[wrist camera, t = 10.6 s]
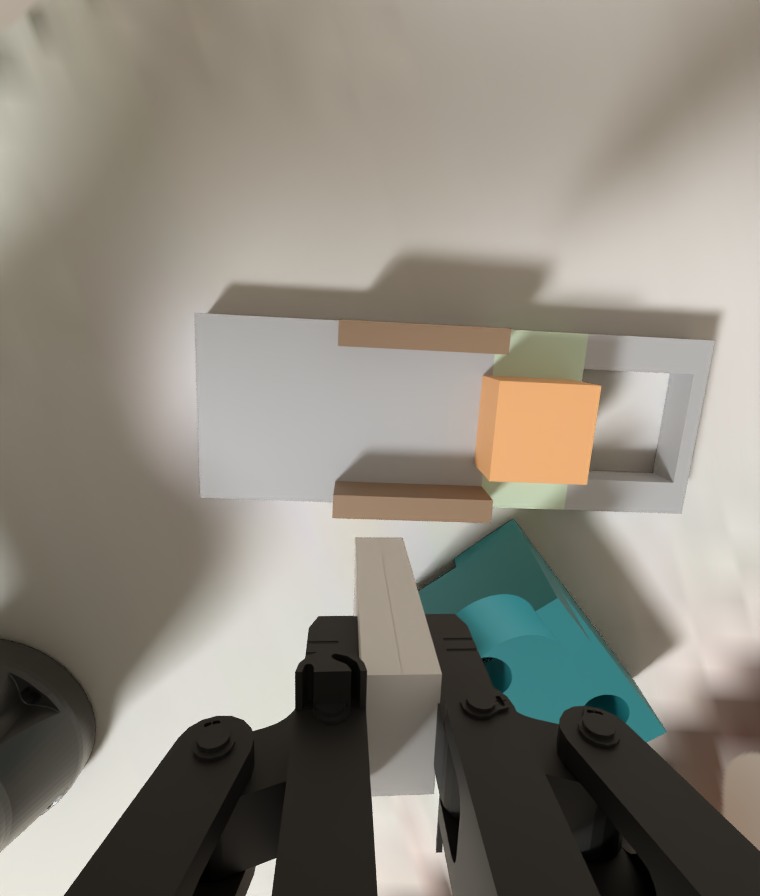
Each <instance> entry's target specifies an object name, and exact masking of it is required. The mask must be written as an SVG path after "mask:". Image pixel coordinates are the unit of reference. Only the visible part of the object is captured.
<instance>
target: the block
mask: <svg viewBox="0 0 760 896" xmlns="http://www.w3.org/2000/svg"><path fill="white" fill-rule="evenodd" d="M600 393H601V386H600V385H596V384H591V383H586V382H581V381H577V380H570V379H549V378H529V377H508V376H488V375H483V376H482V386H481V397H480V407H479V418H478V428H477V438H476V449H475V459H474V465H475V466H476V467H477V468H478V469H479V470H480V471H481V473H482V474H483V475H484V476H485V477H486V478H487V479H488V480H489V481H495V482H523V483H550V484H578V485H587V480H588V474H589V467H590V460H591V453H592V447H593V440H594V433H595V426H596V420H597V413H598V406H599V400H600Z"/></svg>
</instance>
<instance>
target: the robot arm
mask: <svg viewBox="0 0 760 896" xmlns="http://www.w3.org/2000/svg"><path fill="white" fill-rule="evenodd" d="M94 740H95V720H94V715H93V711H92V708H91V705H90V703H89V700H88V698H87V696H86V694H85V693H84V691H83V689H82V688H81V686H80V685H79V684H78V682H77V681H76V680H75V679H74V677H73V676H72V675H71V674H70V673H69V672H68V671H67V670H66V669H64V668H63V667H62V666H61V665H60V664H58V663H57V662H56V661H54V660H53V659H51V658H50V657H48V656H46V655H45V654H43V653H41V652H39V651H37V650H35V649H32V648H30V647H28V646H25V645H22V644H19V643H15V642H11V641H7V640H1V639H0V852H1V851H2V850H3V849H4V848H5V847H7V846H8V845H9V844H10V843H11V842H12V841H13V840H14V839H15V838H16V837H18V836H19V835H20V834H21V833H22V832H23V831H24V830H25V829H26V828H27V827H28V826H29V825H31V824H32V823H33V822H34V821H35V820H36V819H37V818H38V817H39V816H41V815H42V814H44V813H45V812H46V811H48V810H49V809H50V808H51V807H53V806H54V805H55V804H56V803H57V802H58V801H59V800H60V799H61V798H62V797H63V796H64V795H65V794H66V793H67V791H68V790H69V789H70V788H71V786H72V785H73V783H74V782H75V780H76V778H77V777H78V775H79V774H80V772H81V771H82V769H83V767H84V766H85V764H86V763H87V761H88V759H89V757H90V754H91V752H92V749H93V745H94ZM435 775H436V780H437V784H438V789H439V794H440V796H439V810H438V824H437V838H436V853H437V852H442V844H443V846H444V852H445V857H446V862H447V867H448V873H449V878H450V883H451V888H452V893H453V896H760V851H759V850H758V849H757V848H756V847H755V846H753V844H752V843H751V842H750V841H748V840H747V839H746V838H745V837H744V836H743V835H742V834H741V833H740V832H739V831H738V830H737V829H736V828H735V827H734V826H733V825H732V824H731V823H729V821H727V819H725V818H724V817H723V816H722V815H721V814H720V813H719V812H718V811H717V810H716V809H715V808H714V807H713V806H712V805H711V804H710V803H709V802H708V801H707V800H706V799H705V798H704V797H703V796H701V795H700V794H699V793H698V792H697V791H696V790H695V789H694V788H693V787H692V786H691V785H690V784H689V783H688V782H687V781H686V780H685V779H684V778H683V777H682V776H681V775H680V774H678V773H677V772H676V771H675V770H674V769H673V768H672V767H671V766H670V765H669V764H668V763H667V762H666V761H665V760H664V759H663V758H662V757H661V756H660V755H659V754H658V753H657V752H655V751H654V750H653V749H652V748H651V747H650V746H649V745H648V744H647V743H646V742H645V741H644V740H643V739H642V738H641V737H640V736H639V735H638V734H637V733H636V732H635V731H634V730H632V729H631V728H630V727H629V726H628V725H627V724H626V723H625V722H623V721H622V720H621V719H619V718H618V717H617V716H615V715H613V714H611V713H609V712H607V711H604V710H602V709H599V708H595V707H590V706H573V707H571V708H569V709H567V710H565V711H564V712H563V714H562V715H561V717H560V719H559V724H556V723H551V722H547V721H543V720H538V719H534V718H531V717H528V716H524V715H522V714H520V713H518V712H517V711H516V709H515V707H514V705H513V704H512V702H511V701H510V700H509V698H508V697H507V696H506V695H504V694H503V693H502V692H500V691H499V690H497V689H495V688H494V687H493V685H492V682H491V680H490V678H489V675H488V673H487V671H486V668H485V666H484V664H483V661H482V659H481V656H480V654H479V652H478V651H477V647H476V645H475V642H474V640H473V638H472V635H471V633H470V631H469V628H468V626H467V624H466V623H464V622H463V621H462V620H461V619H460V618H459V617H458V616H456V615H455V614H424V610H423V607H422V603H421V600H420V596H419V593H418V589H417V586H416V582H415V579H414V576H413V572H412V569H411V565H410V562H409V558H408V555H407V551H406V548H405V544H404V541H403V538H359V537H355V569H354V612H353V616H318V618H317V619H316V620H315V621H314V622H313V624H312V625H311V626H310V627H309V632H308V640H307V648H306V656H305V659H304V660H302V661H301V662H300V663H299V665H298V667H297V669H296V672H295V710H294V711H293V712H292V713H291V714H290V715H289V716H288V717H287V718H285V719H284V720H282V721H280V722H279V723H277V724H274V725H271V726H269V727H266V728H263V729H259V730H255V731H252V729H251V727H250V726H249V725H248V724H247V723H246V722H245V721H244V720H242V719H239V718H236V717H233V716H215V717H212V718H208V719H204V720H202V721H200V722H198V723H196V724H194V725H193V726H191V727H189V728H188V729H187V730H186V731H185V732H184V733H183V734H182V735H181V736H180V737H179V738H178V739H177V741H176V742H175V743H174V745H173V746H172V748H171V749H170V750H169V752H168V753H167V754H166V756H165V757H164V759H163V760H162V761H161V763H160V764H159V765H158V767H157V768H156V770H155V771H154V772H153V774H152V775H151V776H150V778H149V779H148V781H147V782H146V783H145V785H144V786H143V787H142V789H141V790H140V792H139V793H138V794H137V796H136V797H135V798H134V800H133V801H132V803H131V804H130V805H129V807H128V808H127V809H126V811H125V812H124V814H123V815H122V816H121V818H120V819H119V820H118V822H117V823H116V825H115V826H114V827H113V829H112V830H111V831H110V833H109V834H108V836H107V837H106V838H105V840H104V841H103V842H102V844H101V845H100V847H99V848H98V849H97V851H96V852H95V853H94V855H93V856H92V858H91V859H90V860H89V862H88V863H87V864H86V866H85V867H84V869H83V870H82V871H81V873H80V874H79V875H78V877H77V878H76V880H75V881H74V882H73V884H72V885H71V886H70V888H69V889H68V891H67V892H66V893H65V895H64V896H245V895H246V893H247V890H248V888H249V885H250V883H251V880H252V878H253V875H254V872H255V867H256V866H257V865H259V864H262V863H264V862H267V861H269V860H272V859H275V858H277V859H276V866H275V874H274V882H273V890H272V896H377V880H376V864H375V848H374V831H373V815H372V798H371V796H394V795H422V794H434V785H435Z"/></svg>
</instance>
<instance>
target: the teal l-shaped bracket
mask: <svg viewBox="0 0 760 896" xmlns="http://www.w3.org/2000/svg"><path fill="white" fill-rule="evenodd" d="M454 560H455V564H456V568H454V569H452V570H451V571H449V572H448V573H446V574H445V575H443V576H442V577H440V578H439V579H437V580H435V581H434V582H432V583H431V584H429V585H428V586H426V587H425V588H423V589H421V590H420V591H418V593H419V596H420V600H421V603H422V607H423V610H424V614H455V615H456V616H458V617H459V618H460V619H461V620H462V621H463V622H464V623H466V624H467V626H468V628H469V631H470V633H471V635H472V638H473V640H474V642H475V645H476V647H477V651H478V652H479V654H480V656H481V658H483V657H493V659H492V660H490V661H487V662H484V663H483V664H484V666H485V668H486V671H487V673H488V675H489V678H490V680H491V682H492V685H493V687H494V688H495V689H497V690H499V691H500V692H502V693H503V694H504V695H506V696H507V697H508V698H509V700H510V701H511V702H512V704H513V705H514V707H515V709H516V711H517V712H518V713H520V714H522V715H524V716H528V717H531V718H534V719H538V720H543V721H547V722H551V723H556V724H559V719H560V717H561V715H562V714H563V712H564V711H565V710H567V709H569V708H571V707H573V706H590V707H595V708H599V709H602V710H604V711H607V712H609V713H611V714H613V715H615V716H617V717H618V718H619V719H621V720H622V721H623V722H625V723H626V724H627V725H628V726H629V727H630V728H631V729H632V730H634V731H635V732H636V733H637V734H638V735H639V736H640V737H641V738H642V739H643V740H644V741H645V742H646V743H647V742H648V741H650V740H652V739H654V738H656V737H658V736H660V735H662V734H664V733H666V730H665V728H664V727H663V725H662V724H661V722H660V721H659V719H658V717H657V716H656V714H655V713H654V711H653V710H652V708H651V706H650V705H649V703H648V702H647V700H646V699H645V697H644V695H643V694H642V692H641V691H640V689H639V688H638V686H637V685H636V683H635V681H634V680H633V679H632V677H631V676H630V675H629V673H628V672H627V671H626V669H625V668H624V667H623V665H622V664H621V663H620V661H619V660H618V659H617V657H616V656H615V655H614V653H613V652H612V651H611V649H610V648H609V646H608V645H607V644H606V642H605V641H604V640H603V638H602V637H601V636H600V634H599V633H598V632H597V630H596V629H595V628H594V626H593V625H592V624H591V622H590V621H589V620H588V618H587V617H586V616H585V614H584V613H583V612H582V610H581V609H580V608H579V606H578V605H577V604H576V602H575V601H574V599H573V598H572V597H571V595H570V594H569V593H568V591H567V590H566V589H565V587H564V586H563V585H562V583H561V582H560V581H559V579H558V578H557V577H556V575H555V574H554V573H553V571H552V570H551V569H550V567H549V566H548V565H547V563H546V562H545V561H544V559H543V558H542V557H541V555H540V554H539V552H538V551H537V550H536V548H535V547H534V546H533V544H532V543H531V542H530V540H529V539H528V538H527V536H526V535H525V534H524V532H523V531H522V530H521V528H520V527H519V526H518V524H517V523H516V522H515V520H514V519H513V520H511V521H509V522H508V523H506V524H505V525H503V526H502V527H500V528H499V529H497V530H496V531H494V532H493V533H491V534H489V535H488V536H486V537H485V538H483V539H482V540H480V541H479V542H477V543H476V544H474V545H473V546H471V547H470V548H468V549H467V550H466V551H464V552H463V553H461V554H460V555H458V556H457V557H456V558H454Z"/></svg>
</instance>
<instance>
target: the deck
mask: <svg viewBox="0 0 760 896" xmlns="http://www.w3.org/2000/svg"><path fill="white" fill-rule="evenodd" d="M194 315H195V348H196V381H197V414H198V447H199V480H200V498H223V499H253V500H283V501H313V502H333V517H332V518H347V519H379V520H411V521H442V522H474V523H491V517H492V507H494V508H524V509H554V510H585V511H615V512H645V513H675V514H681V513H682V508H683V503H684V498H685V493H686V487H687V482H688V477H689V472H690V467H691V462H692V457H693V452H694V446H695V441H696V436H697V431H698V426H699V421H700V416H701V410H702V405H703V400H704V395H705V390H706V385H707V380H708V374H709V369H710V364H711V359H712V354H713V349H714V344H715V341H712V340H694V339H675V338H656V337H638V336H619V335H600V334H581V333H563V332H544V331H525V330H511V328H493V327H475V326H456V325H437V324H419V323H400V322H381V321H363V320H344V319H339V321H338V320H320V319H301V318H282V317H263V316H245V315H226V314H207V313H194ZM584 369H593V370H613V371H634V372H654V373H670V379H669V384H668V390H667V396H666V401H665V407H664V413H663V418H662V424H661V429H660V435H659V441H658V446H657V452H656V458H655V463H654V469H653V473H639V472H612V471H589V474H588V480H587V485H578V484H550V483H523V482H495V481H489V480H488V479H487V478H486V477H485V476H484V475H483V474H482V473H481V471H480V470H479V469H478V468H477V467H476V466H475V465H474V459H475V449H476V438H477V428H478V418H479V407H480V397H481V386H482V376H483V375H488V376H508V377H529V378H549V379H570V380H577V381H581V382H582V378H583V371H584Z"/></svg>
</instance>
